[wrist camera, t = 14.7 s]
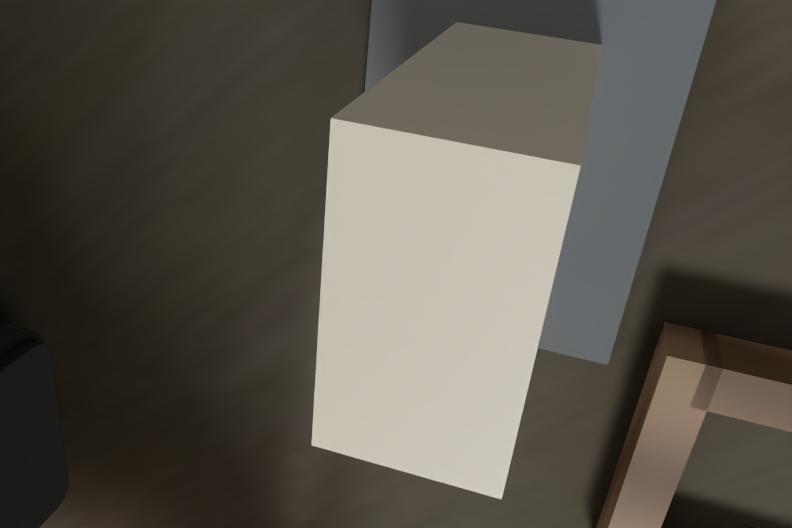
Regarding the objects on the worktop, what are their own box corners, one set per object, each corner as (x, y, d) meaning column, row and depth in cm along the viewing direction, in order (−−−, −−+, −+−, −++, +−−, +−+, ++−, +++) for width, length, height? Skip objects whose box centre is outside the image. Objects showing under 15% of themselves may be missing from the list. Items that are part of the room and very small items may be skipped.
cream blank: (602, 44, 19) (580, 165, 11) (549, 271, 23) (501, 499, 14) (456, 22, 20) (330, 117, 12) (426, 244, 24) (311, 445, 15)
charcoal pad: (608, 351, 24) (607, 365, 24) (355, 291, 26) (347, 302, 25) (733, -72, 18) (737, -71, 17) (389, -113, 20) (381, -114, 19)
